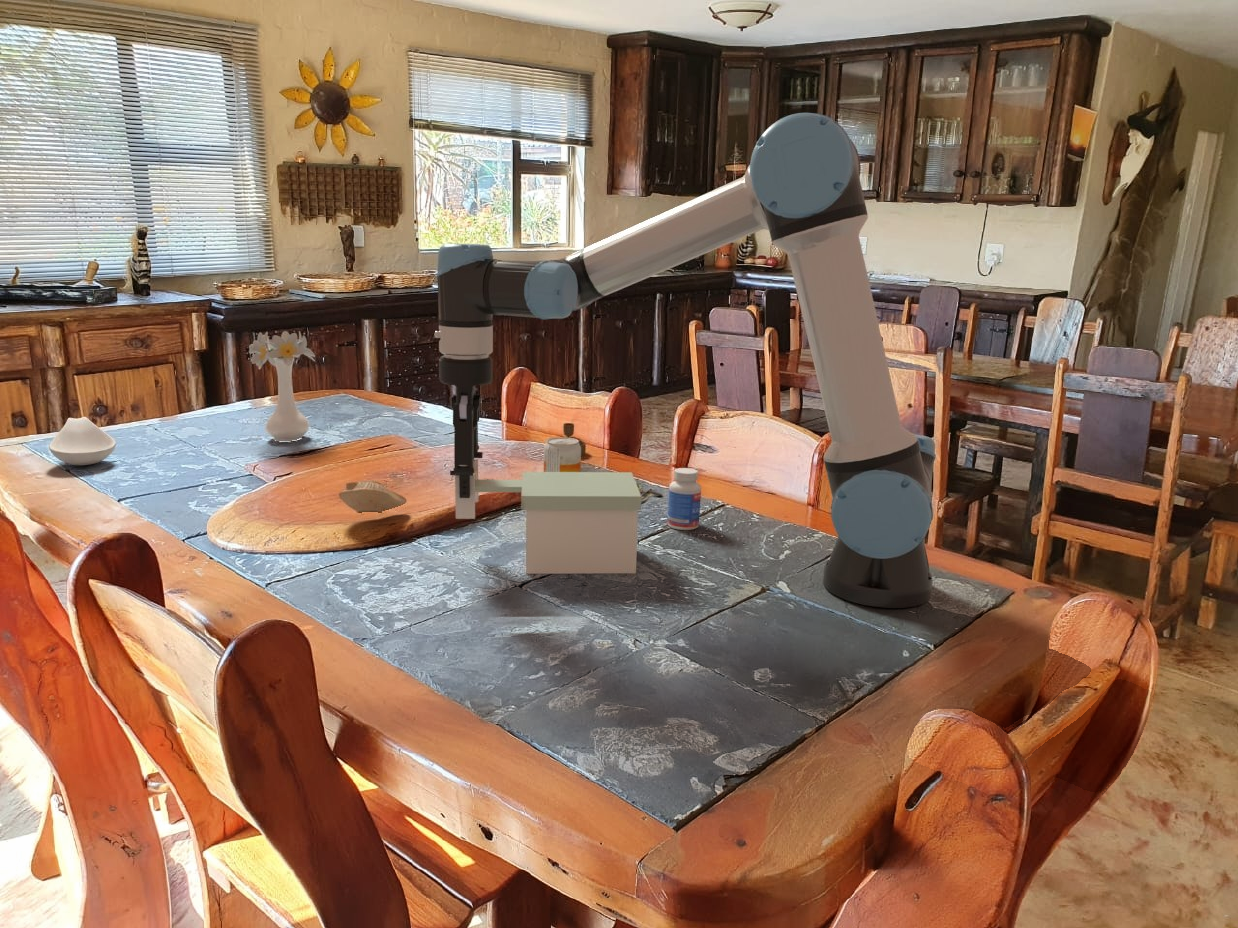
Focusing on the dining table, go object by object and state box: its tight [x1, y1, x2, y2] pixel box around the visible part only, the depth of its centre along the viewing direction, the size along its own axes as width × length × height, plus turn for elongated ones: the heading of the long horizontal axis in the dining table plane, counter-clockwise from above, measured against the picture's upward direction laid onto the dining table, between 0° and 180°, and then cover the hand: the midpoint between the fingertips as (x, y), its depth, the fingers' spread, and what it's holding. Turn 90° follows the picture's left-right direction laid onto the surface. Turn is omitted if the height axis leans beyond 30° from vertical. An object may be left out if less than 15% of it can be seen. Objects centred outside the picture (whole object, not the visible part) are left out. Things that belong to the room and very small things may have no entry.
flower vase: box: [248, 330, 316, 442], centre depth 206 cm, size 13×18×25 cm
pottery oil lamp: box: [338, 480, 408, 514], centre depth 156 cm, size 9×12×7 cm
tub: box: [525, 510, 639, 575], centre depth 138 cm, size 16×12×11 cm
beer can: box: [543, 436, 582, 472], centre depth 152 cm, size 6×6×15 cm
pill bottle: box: [667, 467, 702, 531], centre depth 156 cm, size 6×5×10 cm
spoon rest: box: [48, 416, 117, 466], centre depth 191 cm, size 24×12×7 cm, turn 34°
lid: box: [466, 465, 642, 511], centre depth 136 cm, size 26×13×4 cm, turn 95°
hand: (467, 509), depth 136 cm, fingers closed on lid, 8 cm apart
